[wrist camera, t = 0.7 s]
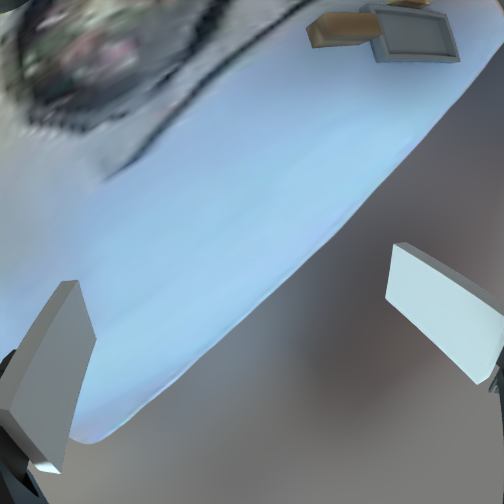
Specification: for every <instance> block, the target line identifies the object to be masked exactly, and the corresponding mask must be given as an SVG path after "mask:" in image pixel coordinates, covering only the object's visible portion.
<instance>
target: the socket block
mask: <svg viewBox="0 0 504 504" xmlns="http://www.w3.org/2000/svg"><path fill="white" fill-rule="evenodd" d="M386 2H387V5H395V6H403V7H410V8H417V9H420V8H423V7H426V6H428V5H431V4H430V1H429V0H386Z"/></svg>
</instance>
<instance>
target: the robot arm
mask: <svg viewBox="0 0 504 504" xmlns="http://www.w3.org/2000/svg"><path fill="white" fill-rule="evenodd" d="M27 1H28V0H0V14H1V13H5V12H8V11H11V10H13V9H15V8H17V7H19V6H21V5H22V4H24V3H25V2H27ZM385 298H386V299H387V300H388V301H389V302H390V303H391V304H392V305H393V306H394V307H396V308H397V309H398V310H399V311H400V312H401V313H402V314H403V315H404V316H406V317H407V318H408V319H409V320H410V321H411V322H412V323H413V324H414V325H416V326H417V327H418V328H419V329H420V330H421V331H422V332H423V333H424V334H425V335H426V336H427V337H428V338H429V339H430V340H432V341H433V342H434V343H435V344H436V345H437V346H438V347H439V348H440V349H441V350H442V351H443V352H444V353H445V354H446V355H447V356H448V357H449V358H450V359H451V360H452V361H454V362H455V363H456V364H457V365H458V366H459V367H460V368H461V369H462V370H463V371H464V372H465V373H466V374H467V375H468V376H469V377H470V378H471V379H472V380H473V381H474V382H475V383H476V384H479V383H481V382H482V381H484V380H485V379H487V378H488V377H489V376H490V374H491V372H492V370H493V368H494V366H495V364H497V365H498V366H499V367H500V369H499V371H498V373H497V375H496V376H495V378H494V380H493V382H492V384H491V386H490V388H489V392H492V390H493V388H494V386H495V385H498V386H497V388H496V390H495V393H499V394H500V403H501V411H502V422H503V436H504V303H503V302H502V301H500V300H499V299H497V298H496V297H494V296H493V295H491V294H490V293H488V292H487V291H485V290H483V289H482V288H481V287H479V286H478V285H476V284H475V283H473V282H471V281H470V280H468V279H467V278H465V277H464V276H462V275H460V274H459V273H457V272H456V271H454V270H452V269H451V268H449V267H447V266H446V265H444V264H443V263H441V262H439V261H437V260H436V259H434V258H432V257H431V256H429V255H427V254H426V253H424V252H422V251H421V250H419V249H417V248H415V247H414V246H412V245H410V244H408V243H406V242H405V243H397V244H394V245H393V252H392V259H391V267H390V273H389V279H388V286H387V291H386V297H385ZM95 342H96V336H95V333H94V330H93V327H92V324H91V321H90V318H89V315H88V312H87V309H86V305H85V302H84V299H83V295H82V292H81V288H80V285H79V281H78V280H72V281H62V282H61V283H60V284H59V286H58V287H57V289H56V290H55V291H54V293H53V294H52V296H51V297H50V299H49V300H48V302H47V303H46V304H45V306H44V307H43V309H42V310H41V312H40V313H39V315H38V316H37V318H36V319H35V321H34V323H33V324H32V326H31V327H30V329H29V330H28V332H27V334H26V335H25V337H24V338H23V340H22V342H21V343H20V345H19V347H18V348H17V350H13V351H11V352H10V353H9V354H8V355H7V356H6V357H5V358H4V359H3V361H2V362H1V364H0V504H49V503H48V502H47V500H46V498H45V497H44V495H43V493H42V491H41V490H40V488H39V486H38V485H37V483H36V481H35V479H34V477H33V475H32V474H31V473H30V471H29V470H28V469H27V466H28V462H29V460H30V461H31V462H32V463H33V464H34V465H35V466H36V467H37V468H38V469H39V470H41V471H46V472H52V473H59V474H61V470H62V465H63V460H64V455H65V450H66V446H67V441H68V437H69V432H70V428H71V424H72V420H73V416H74V412H75V408H76V404H77V401H78V397H79V393H80V390H81V386H82V383H83V380H84V376H85V373H86V370H87V366H88V363H89V360H90V357H91V354H92V351H93V348H94V345H95ZM503 504H504V494H503Z"/></svg>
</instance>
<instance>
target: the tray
mask: <svg viewBox="0 0 504 504" xmlns="http://www.w3.org/2000/svg"><path fill="white" fill-rule="evenodd" d="M359 11H360V13H375V14H376V17H377V19H378V22H379V25H380V28H381V31H382V34H383V35H381V36H378V37H376V38H374V39H371V40H370V43H371V47H372V50H373V53H374V57H375V60H376V63H385V62H434V63H456V62H460V58H459V54H458V51H457V47H456V44H455V40H454V37H453V34H452V31H451V28H450V25H449V22H448V19H447V16H446V15H445V14H440V13H435V12H430V11H424V10H418V9H411V8H404V7H396V6H386V5H374V4H367V5H365V6H364V7H362V8H360V9H359Z"/></svg>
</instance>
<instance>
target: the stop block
mask: <svg viewBox="0 0 504 504" xmlns="http://www.w3.org/2000/svg"><path fill="white" fill-rule="evenodd" d="M306 30H307V33H308V36H309V39H310V42H311V45H312V48H322V47H334V46H350V45H360V44H362V43H364V42H366V41H369V40H371V39H374V38H376V37H378V36H381V35H383V34H382V31H381V28H380V25H379V22H378V19H377V17H376V14H375V13H325V14H323V15H322V16H321V17H319V18H318V19H317V20H316V21H314V22H313V23H312V24H311V25H309V26H308V27H307V28H306Z"/></svg>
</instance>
